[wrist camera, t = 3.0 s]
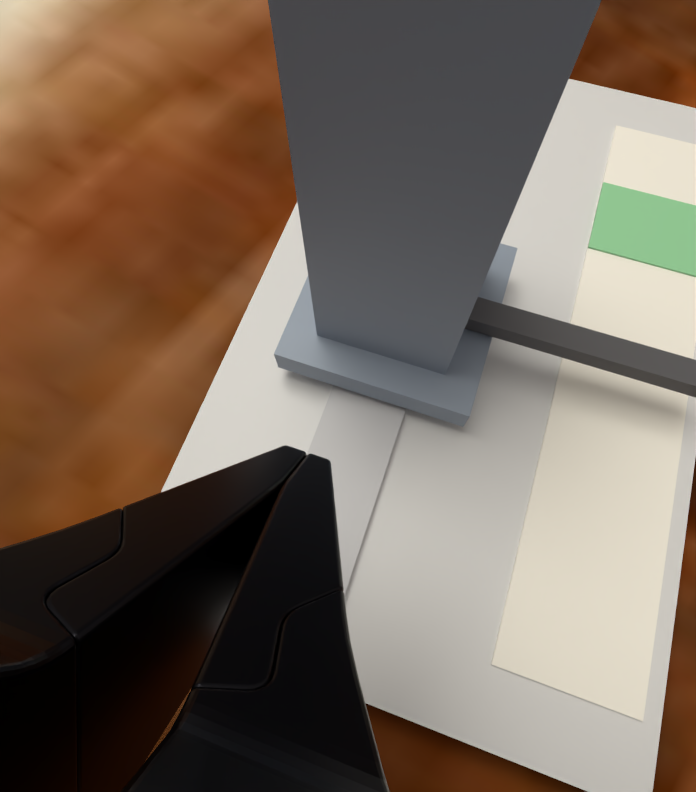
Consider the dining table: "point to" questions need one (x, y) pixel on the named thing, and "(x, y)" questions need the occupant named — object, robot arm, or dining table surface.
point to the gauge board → (515, 467)
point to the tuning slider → (425, 192)
